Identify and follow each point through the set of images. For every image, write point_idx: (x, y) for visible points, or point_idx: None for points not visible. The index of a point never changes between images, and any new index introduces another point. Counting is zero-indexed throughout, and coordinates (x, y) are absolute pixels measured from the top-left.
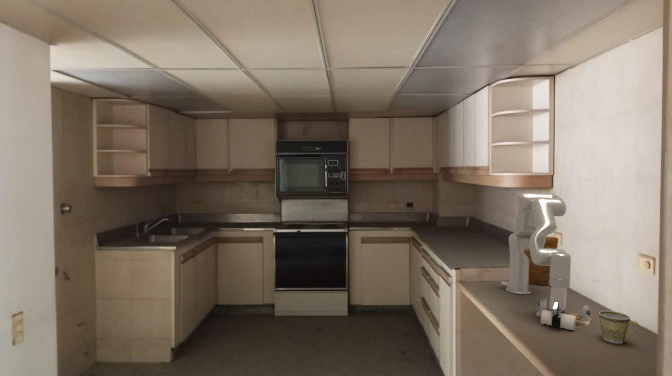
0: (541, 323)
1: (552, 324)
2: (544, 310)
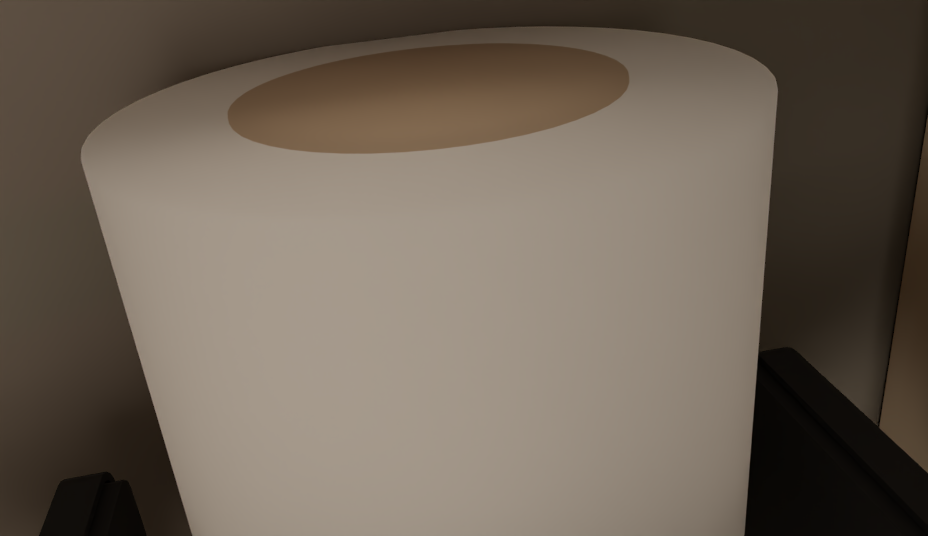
0: (238, 71)
1: (63, 525)
2: (445, 323)
